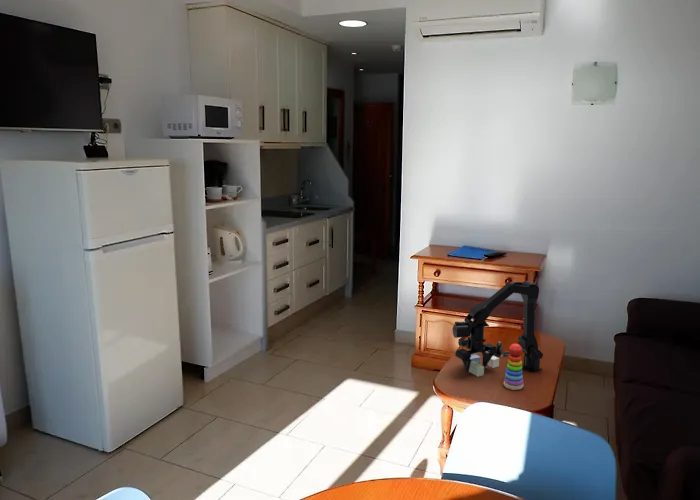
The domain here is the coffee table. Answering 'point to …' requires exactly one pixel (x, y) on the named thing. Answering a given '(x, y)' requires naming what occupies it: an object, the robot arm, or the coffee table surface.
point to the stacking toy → (514, 369)
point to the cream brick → (493, 362)
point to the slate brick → (475, 358)
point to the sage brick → (476, 369)
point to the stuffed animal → (500, 352)
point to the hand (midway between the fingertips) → (475, 369)
